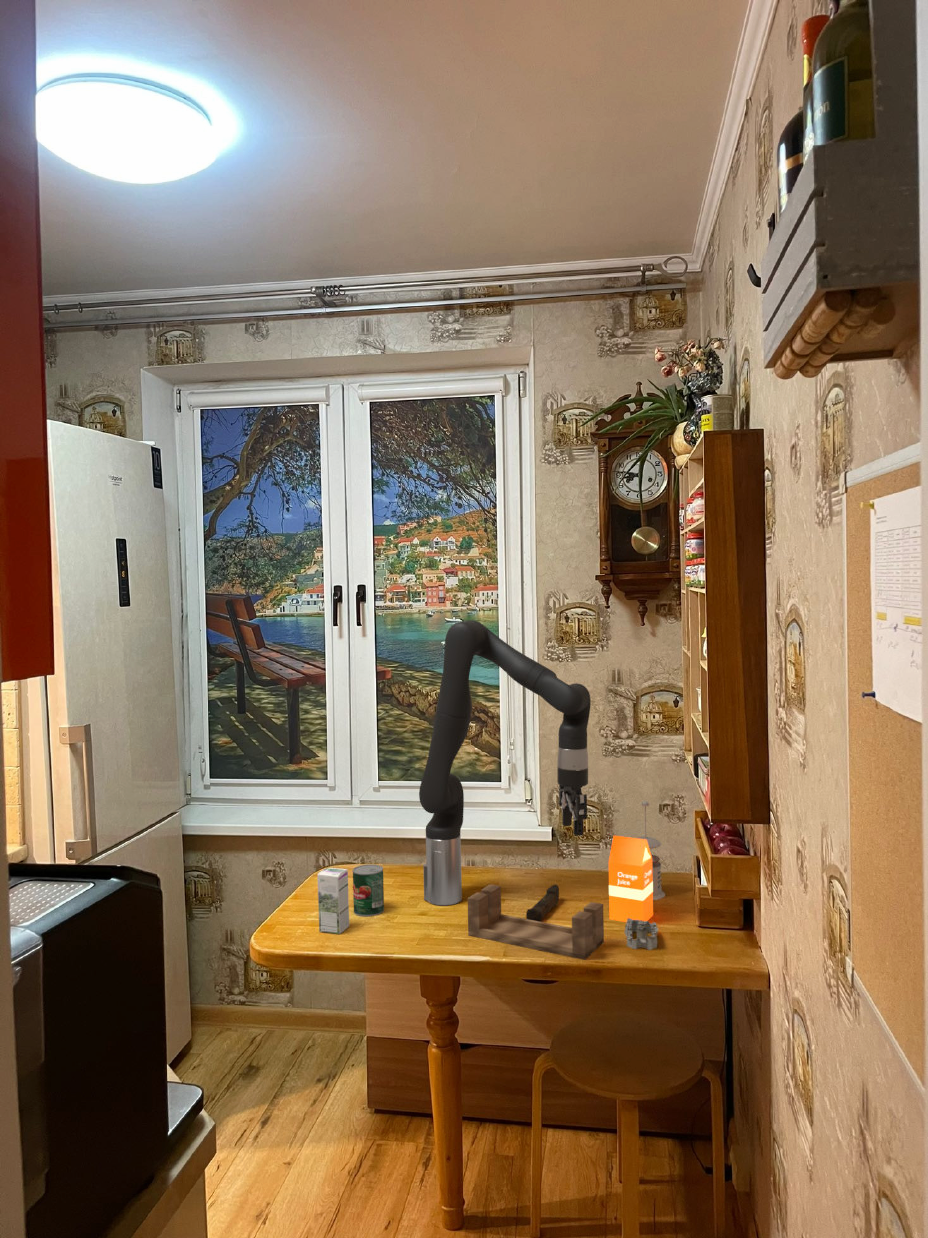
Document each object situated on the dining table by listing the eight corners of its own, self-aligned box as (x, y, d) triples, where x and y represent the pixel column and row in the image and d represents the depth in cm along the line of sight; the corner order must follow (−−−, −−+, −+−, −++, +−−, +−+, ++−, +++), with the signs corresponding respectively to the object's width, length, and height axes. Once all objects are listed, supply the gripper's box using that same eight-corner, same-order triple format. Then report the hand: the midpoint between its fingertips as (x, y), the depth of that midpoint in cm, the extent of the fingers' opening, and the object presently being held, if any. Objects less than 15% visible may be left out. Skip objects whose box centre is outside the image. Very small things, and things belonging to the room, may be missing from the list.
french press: (663, 888, 244) (661, 796, 244) (668, 903, 233) (667, 807, 232) (626, 887, 245) (625, 796, 245) (629, 902, 234) (628, 807, 233)
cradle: (468, 935, 214) (467, 898, 214) (490, 920, 224) (490, 884, 223) (584, 960, 199) (584, 919, 198) (603, 942, 208) (603, 904, 208)
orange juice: (619, 909, 229) (618, 831, 228) (653, 915, 225) (652, 835, 224) (608, 919, 222) (607, 839, 222) (643, 925, 218) (642, 844, 217)
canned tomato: (348, 915, 229) (347, 872, 229) (361, 904, 237) (359, 863, 236) (377, 918, 227) (376, 875, 226) (389, 907, 234) (387, 865, 234)
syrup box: (350, 926, 222) (348, 868, 221) (339, 935, 216) (337, 875, 216) (329, 924, 224) (328, 866, 223) (318, 932, 218) (316, 873, 217)
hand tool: (540, 926, 220) (540, 907, 219) (525, 923, 221) (525, 905, 221) (568, 901, 236) (567, 884, 236) (553, 899, 238) (553, 882, 238)
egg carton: (657, 952, 203) (657, 934, 203) (623, 949, 205) (623, 932, 204) (659, 934, 213) (659, 917, 213) (627, 931, 215) (626, 914, 215)
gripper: (549, 760, 227) (549, 823, 228) (567, 772, 213) (567, 839, 214) (577, 759, 229) (577, 821, 230) (597, 770, 215) (597, 837, 216)
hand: (572, 830), depth 222 cm, fingers open, 8 cm apart
